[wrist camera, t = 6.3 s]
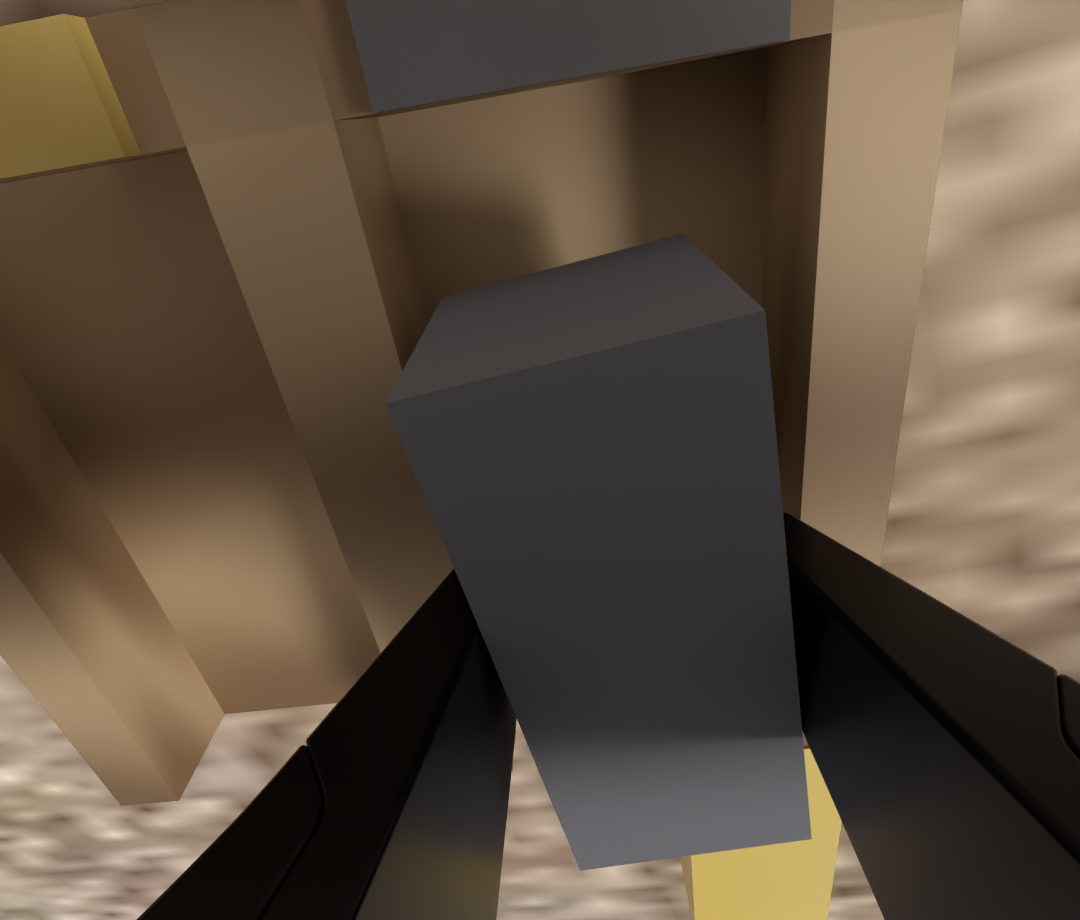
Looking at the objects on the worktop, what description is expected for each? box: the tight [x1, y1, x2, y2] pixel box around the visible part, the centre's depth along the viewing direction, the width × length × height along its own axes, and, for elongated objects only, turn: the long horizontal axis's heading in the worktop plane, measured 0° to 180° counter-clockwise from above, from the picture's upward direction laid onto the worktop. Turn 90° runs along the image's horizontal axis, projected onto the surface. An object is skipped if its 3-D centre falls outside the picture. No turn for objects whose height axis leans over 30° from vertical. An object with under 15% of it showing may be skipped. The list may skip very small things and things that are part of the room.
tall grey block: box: [385, 234, 812, 870], centre depth 8 cm, size 7×3×3 cm, turn 15°
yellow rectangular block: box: [680, 745, 842, 920], centre depth 15 cm, size 7×3×3 cm, turn 9°
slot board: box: [0, 0, 963, 806], centre depth 10 cm, size 12×14×3 cm
